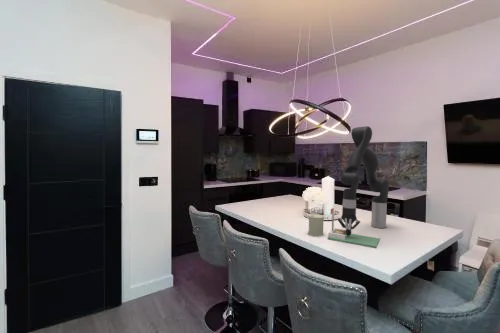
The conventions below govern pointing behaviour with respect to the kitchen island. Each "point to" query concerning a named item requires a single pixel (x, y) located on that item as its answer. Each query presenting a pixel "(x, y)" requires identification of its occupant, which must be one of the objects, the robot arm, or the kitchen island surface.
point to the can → (316, 225)
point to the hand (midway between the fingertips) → (348, 235)
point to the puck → (340, 231)
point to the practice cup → (332, 232)
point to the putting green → (359, 240)
